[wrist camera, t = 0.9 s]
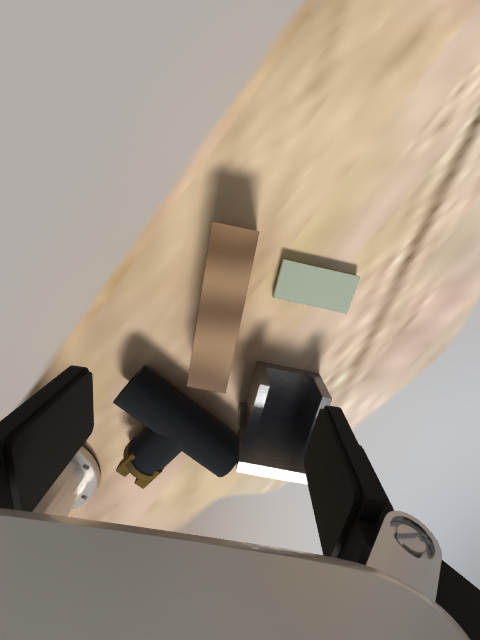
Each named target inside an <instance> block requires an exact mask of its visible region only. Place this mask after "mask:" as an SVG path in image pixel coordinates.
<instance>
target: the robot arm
mask: <svg viewBox="0 0 480 640" xmlns="http://www.w3.org/2000/svg"><path fill="white" fill-rule="evenodd" d="M93 427H94V413H93V378H92V373H91V372H89V370H88V368H86V367H80V366H70V367H68V368H67V369H66V370H65V371H63V372H62V373H61V374H59V375H58V376H57V377H56V378H54V379H53V380H52V381H51V382H49V383H48V384H47V385H46V386H44V387H43V388H42V389H41V390H39V391H38V392H37V393H35V394H34V395H33V396H32V397H30V398H29V399H28V400H27V401H25V402H24V403H23V404H22V405H20V406H19V407H18V408H17V409H15V410H14V411H13V412H11V413H10V414H9V415H8V416H7V417H5V418H4V419H3V420H1V421H0V640H480V590H479V589H478V588H477V587H475V586H474V585H473V584H471V583H470V582H469V581H468V580H467V579H465V578H464V577H463V576H462V575H460V574H459V573H458V572H457V571H455V570H454V569H453V568H451V567H450V566H449V565H448V564H447V563H445V562H444V561H443V560H442V553H441V549H440V546H439V544H438V541H437V540H436V539H435V537H434V535H433V534H432V533H431V532H430V530H428V528H427V527H426V526H425V525H424V524H423V523H421V522H420V521H419V520H418V519H416V518H415V517H413V516H411V515H409V514H407V513H404V512H401V511H394V509H393V507H392V505H391V503H390V501H389V499H388V497H387V495H386V493H385V491H384V489H383V487H382V485H381V483H380V481H379V479H378V477H377V475H376V473H375V471H374V469H373V467H372V465H371V463H370V461H369V459H368V457H367V455H366V453H365V451H364V449H363V448H362V446H360V445H359V444H358V442H357V440H356V438H355V436H354V434H353V432H352V430H351V428H350V426H349V424H348V422H347V420H346V417H345V415H344V413H343V411H342V409H341V408H339V407H334V406H327V405H326V406H325V407H324V409H323V408H320V410H319V412H318V416H317V419H316V422H315V425H314V428H313V432H312V435H311V438H310V441H309V444H308V448H307V451H306V454H305V457H304V469H305V474H306V478H307V483H308V487H309V492H310V496H311V500H312V506H313V510H314V515H315V519H316V523H317V528H318V533H319V537H320V542H321V546H322V551H323V555H318V554H312V553H306V552H300V551H295V550H289V549H283V548H276V547H269V546H263V545H256V544H250V543H244V542H237V541H230V540H224V539H217V538H211V537H204V536H197V535H191V534H184V533H177V532H170V531H163V530H156V529H150V528H143V527H136V526H129V525H122V524H115V523H108V522H101V521H94V520H87V519H79V518H72V517H67V515H68V514H69V512H70V510H71V509H73V508H77V507H79V506H81V505H83V504H85V503H86V502H88V501H89V500H90V499H91V498H92V496H93V495H94V493H95V492H96V490H97V488H98V485H99V483H100V471H99V467H98V465H97V463H96V461H95V459H94V458H93V456H92V455H91V454H90V453H89V452H88V451H87V450H86V449H85V448H84V447H83V446H82V445H83V444H84V443H85V441H86V440H87V439H88V437H89V436H90V435H91V433H92V431H93Z"/></svg>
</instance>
